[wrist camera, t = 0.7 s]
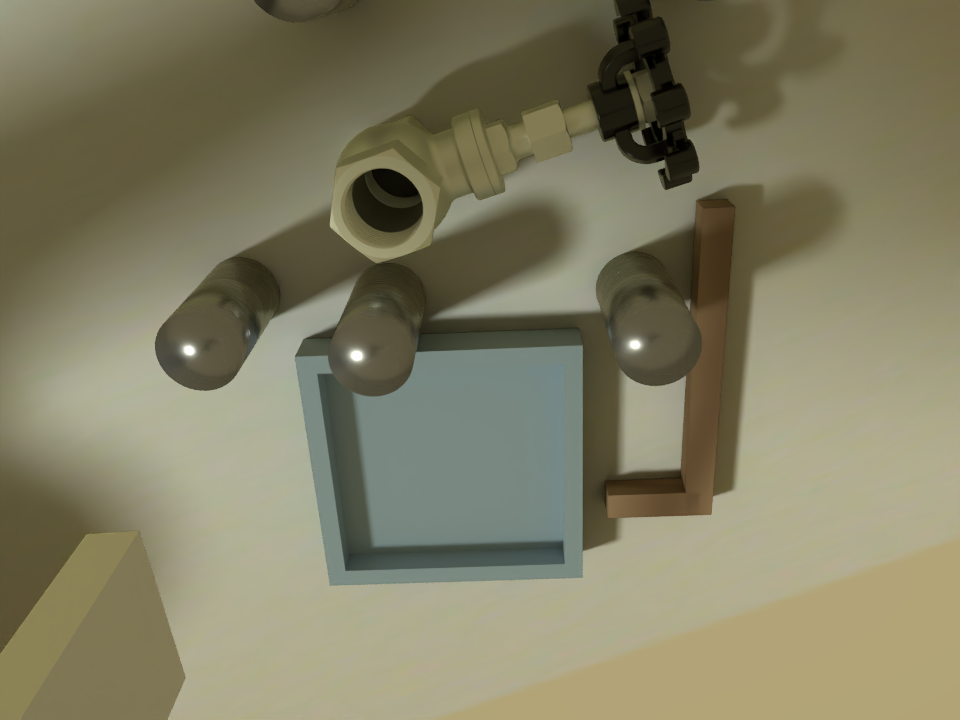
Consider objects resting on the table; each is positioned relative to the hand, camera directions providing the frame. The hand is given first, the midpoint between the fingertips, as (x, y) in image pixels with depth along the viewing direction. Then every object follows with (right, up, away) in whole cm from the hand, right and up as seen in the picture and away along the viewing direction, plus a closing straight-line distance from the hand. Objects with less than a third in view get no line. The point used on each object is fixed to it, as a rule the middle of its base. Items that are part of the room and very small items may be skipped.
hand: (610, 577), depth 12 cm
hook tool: (+6, +3, +24) cm, 25 cm away
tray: (-3, -1, +26) cm, 27 cm away
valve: (-1, +12, +21) cm, 24 cm away
